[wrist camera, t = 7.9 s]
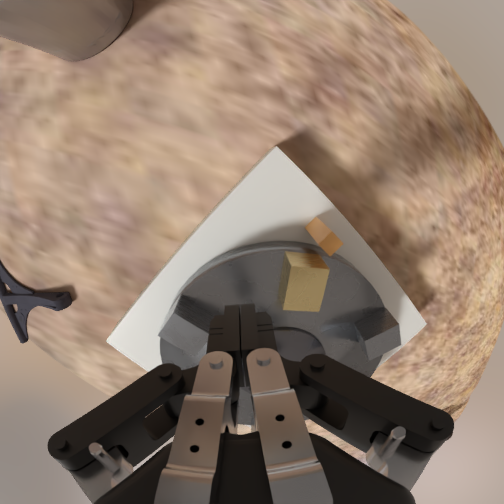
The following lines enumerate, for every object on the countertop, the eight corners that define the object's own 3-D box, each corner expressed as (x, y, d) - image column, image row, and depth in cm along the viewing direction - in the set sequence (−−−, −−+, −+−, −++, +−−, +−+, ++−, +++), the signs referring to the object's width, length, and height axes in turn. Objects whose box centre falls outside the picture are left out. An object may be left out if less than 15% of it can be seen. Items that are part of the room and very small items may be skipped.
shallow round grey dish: (163, 228, 20) (141, 251, 15) (403, 253, 21) (435, 277, 17) (173, 401, 27) (165, 435, 22) (341, 406, 28) (352, 437, 23)
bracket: (94, 344, 28) (85, 358, 26) (24, 336, 28) (15, 347, 26) (56, 233, 23) (42, 241, 21) (-10, 247, 23) (-22, 254, 21)
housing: (116, 325, 27) (90, 366, 20) (272, 147, 21) (285, 143, 14) (269, 419, 33) (273, 460, 26) (414, 310, 27) (445, 344, 21)
